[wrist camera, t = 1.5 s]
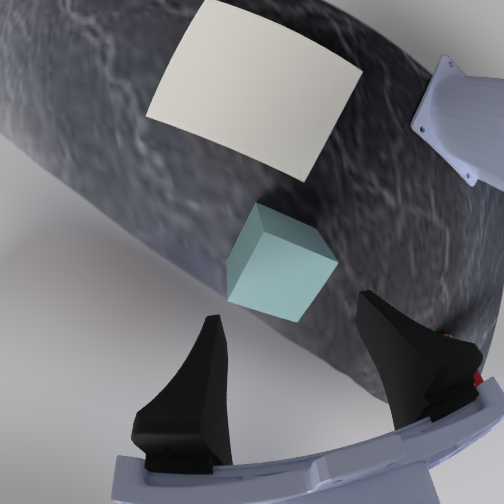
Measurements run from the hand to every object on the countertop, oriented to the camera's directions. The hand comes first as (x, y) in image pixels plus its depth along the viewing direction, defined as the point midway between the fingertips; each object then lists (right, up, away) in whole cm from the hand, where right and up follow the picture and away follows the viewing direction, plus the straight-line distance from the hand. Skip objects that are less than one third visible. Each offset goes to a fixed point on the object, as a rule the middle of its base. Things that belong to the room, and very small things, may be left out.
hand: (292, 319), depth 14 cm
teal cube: (-1, +4, +7) cm, 8 cm away
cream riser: (-2, +14, +2) cm, 14 cm away
